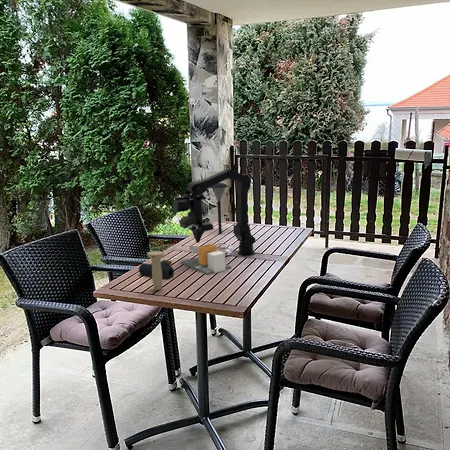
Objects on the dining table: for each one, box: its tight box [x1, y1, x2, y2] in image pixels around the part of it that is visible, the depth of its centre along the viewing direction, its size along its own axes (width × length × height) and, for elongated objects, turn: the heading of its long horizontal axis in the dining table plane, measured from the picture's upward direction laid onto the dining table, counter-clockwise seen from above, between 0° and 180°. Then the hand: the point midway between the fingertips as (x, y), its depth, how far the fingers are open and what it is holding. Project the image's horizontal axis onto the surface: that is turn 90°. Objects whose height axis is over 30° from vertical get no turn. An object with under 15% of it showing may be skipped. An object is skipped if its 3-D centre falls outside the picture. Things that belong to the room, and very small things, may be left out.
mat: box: [180, 256, 232, 275], centre depth 205 cm, size 13×22×1 cm, turn 36°
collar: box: [197, 243, 218, 265], centre depth 202 cm, size 8×3×8 cm, turn 126°
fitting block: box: [207, 250, 226, 274], centre depth 197 cm, size 6×5×8 cm
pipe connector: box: [138, 259, 175, 279], centre depth 197 cm, size 12×5×15 cm
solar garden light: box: [208, 182, 230, 235], centre depth 261 cm, size 12×12×30 cm
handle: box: [146, 250, 165, 291], centre depth 177 cm, size 5×6×15 cm
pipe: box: [188, 245, 209, 254], centre depth 205 cm, size 2×21×2 cm, turn 37°
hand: (197, 242), depth 207 cm, fingers closed
